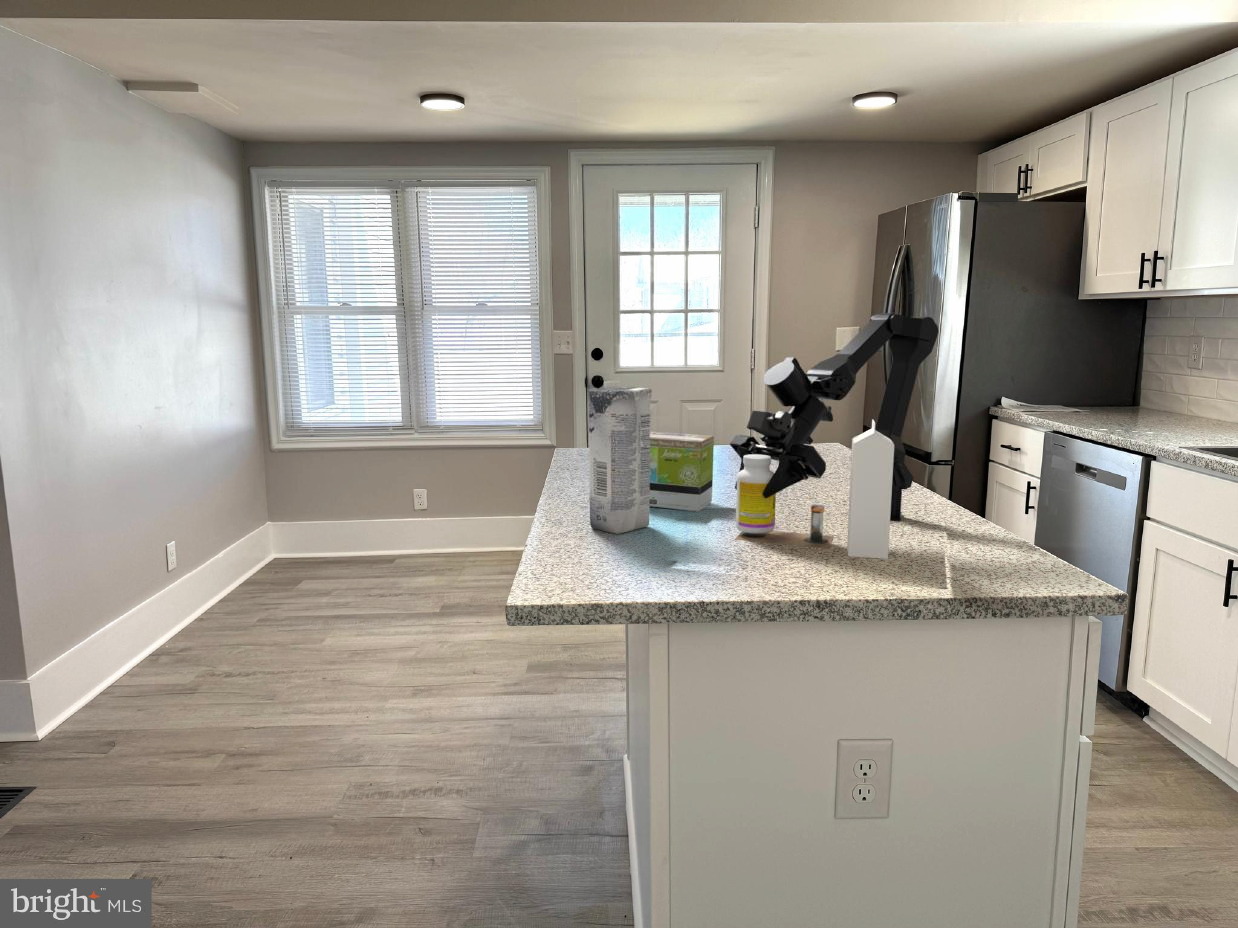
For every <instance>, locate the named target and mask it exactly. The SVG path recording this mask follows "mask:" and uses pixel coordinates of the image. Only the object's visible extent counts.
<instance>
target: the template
mask: <svg viewBox="0 0 1238 928" xmlns="http://www.w3.org/2000/svg"><path fill="white" fill-rule="evenodd" d="M834 538H835V536H834V535H823V536H822V541H821V542H814V541H810V533H799V532H787V531H776V530H775V531H774V530H773V531H771V532H769V533H761V534H759V533H757V534H756V533H746V532H742V531H740V533H739V534H738V535H737V536H736V537H735V538H734V540H737V541H748V542H758V543H767V544H769V543H770V544H780V545H790V546H791V545H793V546H799V547H801V546H803V547H811V548H812V547H813V548H823V549H829V548H830V546H831V544H832V543H833V539H834Z"/></svg>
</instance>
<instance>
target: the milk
mask: <svg viewBox="0 0 1238 928" xmlns="http://www.w3.org/2000/svg"><path fill="white" fill-rule="evenodd" d="M875 427H876V422H875V420H874V419H871V428H870V429H868V430H866V431H864V432H862V433H861V434H859V435H856V436H854V437H853V438H852V439H851V455H850V456H851V458H850V460H851V461H850V476H849V477H850V481H849V503H848V520H847V521H848V523H847V541H846V549H847V556H848V557H855V558H871V559H885V560H886V559H889V547H890V545H889V544H890V529H891V527H890V526H891V520H890V513H891V495H892V477H893V459H894V444H893V442H892V441H891V439H889V438H887V437H886V436H884V435H882V434H881V433H879V432H877V431H876V430H875Z"/></svg>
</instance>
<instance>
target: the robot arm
mask: <svg viewBox="0 0 1238 928" xmlns="http://www.w3.org/2000/svg"><path fill="white" fill-rule="evenodd" d="M938 337H939V327H938V324H937V323H936V322H935V320H934V319H933V318H932V317H931V316H907V315H902V314H899V313H896V312H882V313H881V312H878V313H876V314H873V315H872V316H871V317H870V318H869V322H868V323H866V324H865V325H864V327H862V329H861V330H859V332H858V333H856V335H855V336H854V337H853V338H852V339H851V340H850V341H849V342H847V344H846V345H844V346H843V348H842V349H841V350H840V351H839V352H838V353H836V354H835V355H834V356H832V357H829V358H827V359H825V360H821V361H820V362H818V363H817V364H815V365H814V366H813V367H810V369H808V370H807V372H805V370H804V369H803V368H802V367H801V365H800V362H799V361H798V359H797V358H796V357H788V356H787V357H785V358H784V361H781V362H779V363H777V364H775V365H774V366H772V367H771V368H769V369H768V370H766V372H765V373H764V375H763V382H764V384H765V386H766V387H767V388H768V389H769V391H770V392H771V393H772V395H773V396H774V397H775V399H776V400H777V402H778V403H779V404H780V405H781V406H783V407H786V408H787V407H789V409H788V410H787V411H783V410H778V411H777V412H776V413H775V412H774V413H773V412H769V411H768V412H767V411H762V410H755V409H754V410H752V411H751V415H750V417H749V420H748V422H747V426H746V429H748V430H751V431H754V432H756V433H758V434H760V436H758V437H759V439H760V440H761V441H762V442H763V443H765V444H764V445H761V444H760V443H759V441H758V440H757V439H756V437H754V436H751V435H744V434H738V435H734V437H733V439H732V440H731V441H730V443H729V446H730V447H731V448H732V449H733V451H735V453H736V454H737V456H739V458H740V460H741V461H740V467H739V470H738V473H739V472H740V471H741V470H743V469H744V463H743V457H744V456H745V455H751V454H758V455H767V456H770V457H771V460H773V461H777V462H778V467H777V468H776V470H775V472H774V475H773V476H772V478H771V479H770V481H769V483H768V484H767V486H766V488H765V490H764V492H763V494H762V495H763V496H764V497H765V498H769V497H770V496H772V495H774V494H776V495H777V493H780V492H781V491H783V490H784V489H787V488H789V487H791V486H793V485H795V484H797V483H800V482H802V481H804V480H805V481H807V480H809V478H814V479H822V476H823V475H824V473H825V472H826V471H827V462H826V461H825V460H824V459H823V457H822V455H821V454H820V453H819V452H818V451H817V449H816V448H815V446H814V445H812V443H813V442H814V439H813V438H812V434H813V433H814V431H815V430H816V428H817V427H818V426H819V424H820V423H821V422H830V423H833V421H834V415H833V412H832V406H828V405H826V404H825V402H824V401H823V400H826V401H827V400H828V401H841V400H844V399H845V398H846V396H847V395H848V394H849V393H850V392H851V390H852V388H853V387H854V386H855V385H856V381H857V374H858V372H859V371H860V370H861V369H862V368H863V367H864V366H865V364H867V363H868V361H870V360H871V359H872V357H874V355H876V353H878V351H879V350H880V349H882V347H884V346H885V344H887V342H888V344H887V345H888V349H889V351H890V355H891V358H892V362H891V365H890V369H889V374H888V377H887V381H886V384H885V389H884V393H883V395H882V396H883V397H882V400H881V404H880V408H879V413H878V416H877V420H876V422H875V430H876V431H877V432H879V433H881V434H882V435H884V436H886V437H887V438H889V439H891V441H892V442H893V444H894V459H893V477H892V495H891V513H890V521H902V515H903V514H902V501H903V500H902V498H903V490H908V489H910V488H912V486H913V485H912V484H913V480H914V475H913V473H911V471H910V470H909V468H908V467H907V465H906V464H905V458H906V450H905V446H904V443H903V441H902V434H903V430H904V426H905V421H906V419H907V418H906V417H907V414H908V411H909V407H910V402H911V399H912V395H913V392H914V387H915V384H916V379H917V375H918V372H919V368H920V365H921V364H922V363H923V362H924V361H925V359H926V358H928V356H929V355H930V354H932V352H933V349H934V346H935V344H936V341H937V340H938ZM734 489H735V490H736V491H737V480H736V482H735V486H734Z"/></svg>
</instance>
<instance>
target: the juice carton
mask: <svg viewBox="0 0 1238 928" xmlns="http://www.w3.org/2000/svg"><path fill="white" fill-rule="evenodd" d="M587 393H588V394H587V395H588V418H589V419H588V422H589V425H588V428H589V429H588V430H589V431H588V435H589V437H588V439H589V440H588V441H589V442H588V445H589V446H588V447H589V448H588V449H589V450H588V451H589V452H588V454H589V455H588V456H589V459H588V461H589V470H588V471H589V474H588V475H589V522H590V524H589V525H590V528H591V529H594V530H597V531H598V530H599V531H604V532H607V533H611V534H615V535H620V534H623V533H628V532H631V531H634V530H639V529H644V528H645V527H648V526H649V525H650V506H649V502H650V432H651V401H652V389H651V388H649V387H648V388H647V387H637V386H621V385H620V380H610V381H604V382H603V388H590V389H588V390H587Z"/></svg>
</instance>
